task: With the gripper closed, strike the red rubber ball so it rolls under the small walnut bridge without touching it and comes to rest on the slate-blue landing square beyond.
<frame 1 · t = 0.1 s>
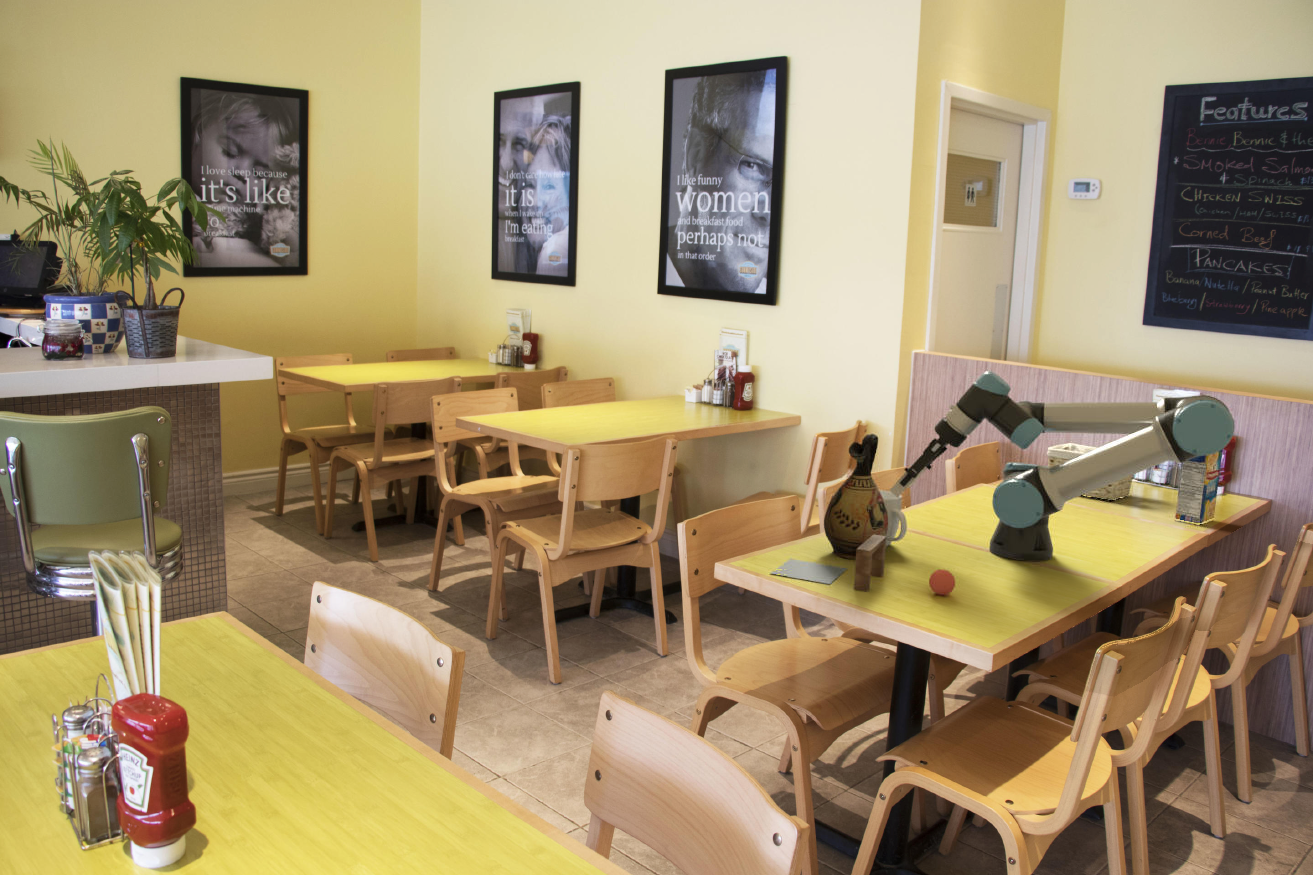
hand: (899, 488, 259), 15 cm above the table, tool tilted 35°, fingers open, 13 cm apart
ball: (942, 582, 224), on the table
bridge: (868, 581, 231), on the table
blue cardboard box: (1193, 521, 304), on the table
ceramic jug: (854, 554, 254), on the table
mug: (878, 545, 263), on the table
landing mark: (809, 571, 237), on the table
storage basket: (1087, 494, 337), on the table
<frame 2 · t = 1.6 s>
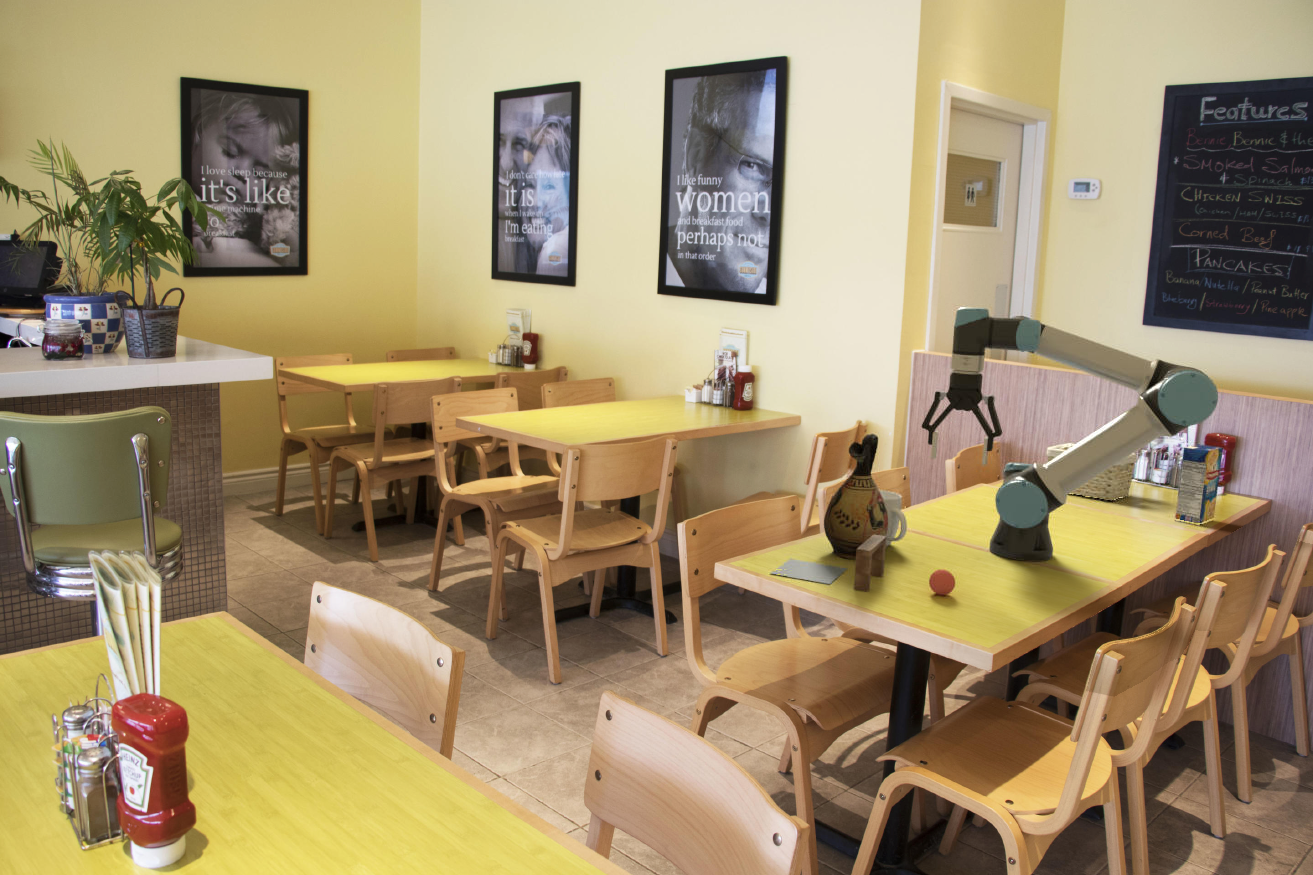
hand: (958, 461, 251), 24 cm above the table, tool pointing down, fingers open, 11 cm apart
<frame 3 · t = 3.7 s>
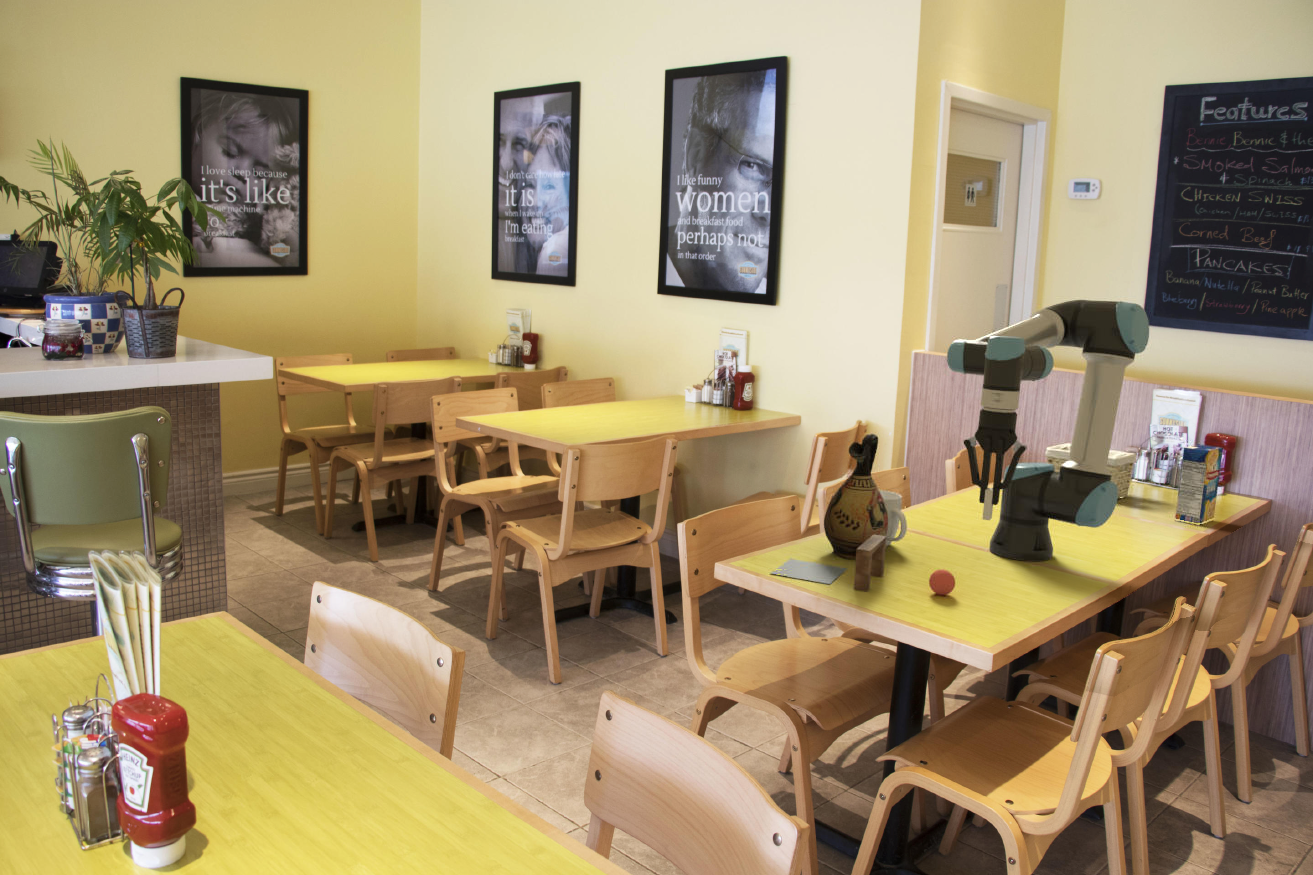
hand: (987, 518, 220), 18 cm above the table, tool pointing down, fingers closed
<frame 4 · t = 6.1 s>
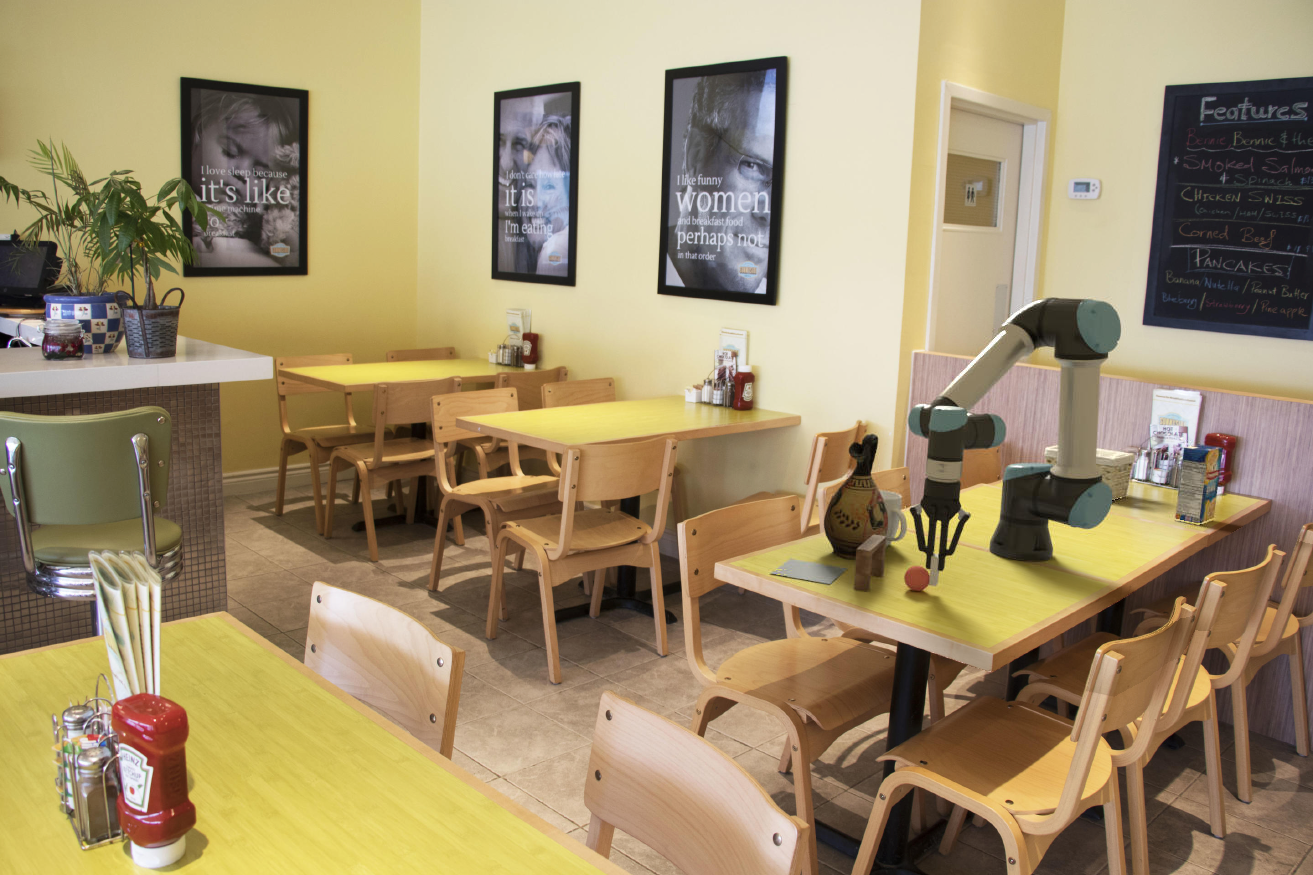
hand: (933, 583, 225), 2 cm above the table, tool pointing down, fingers closed
ball: (917, 578, 226), on the table
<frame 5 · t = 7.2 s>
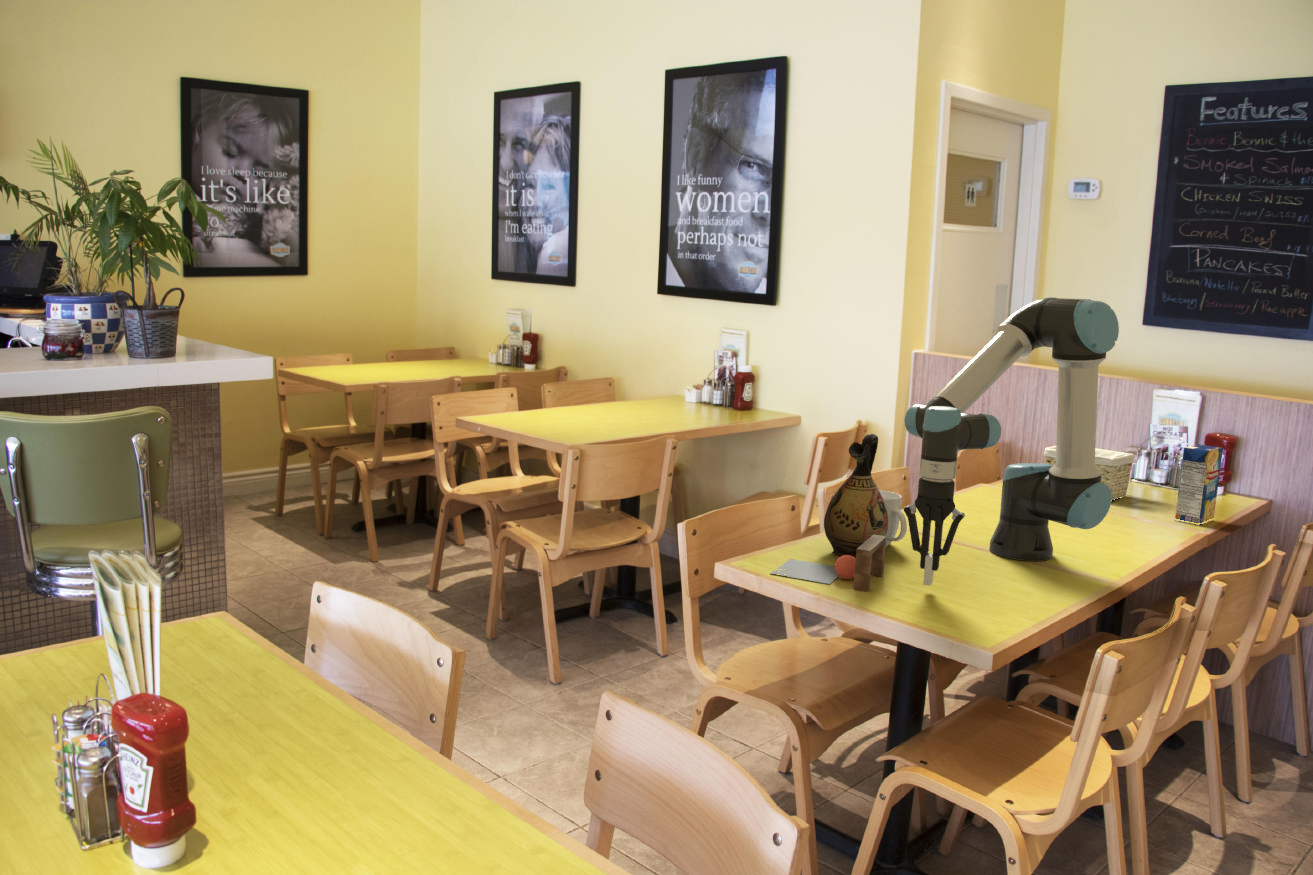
hand: (927, 583, 226), 2 cm above the table, tool pointing down, fingers closed
ball: (847, 567, 233), on the table
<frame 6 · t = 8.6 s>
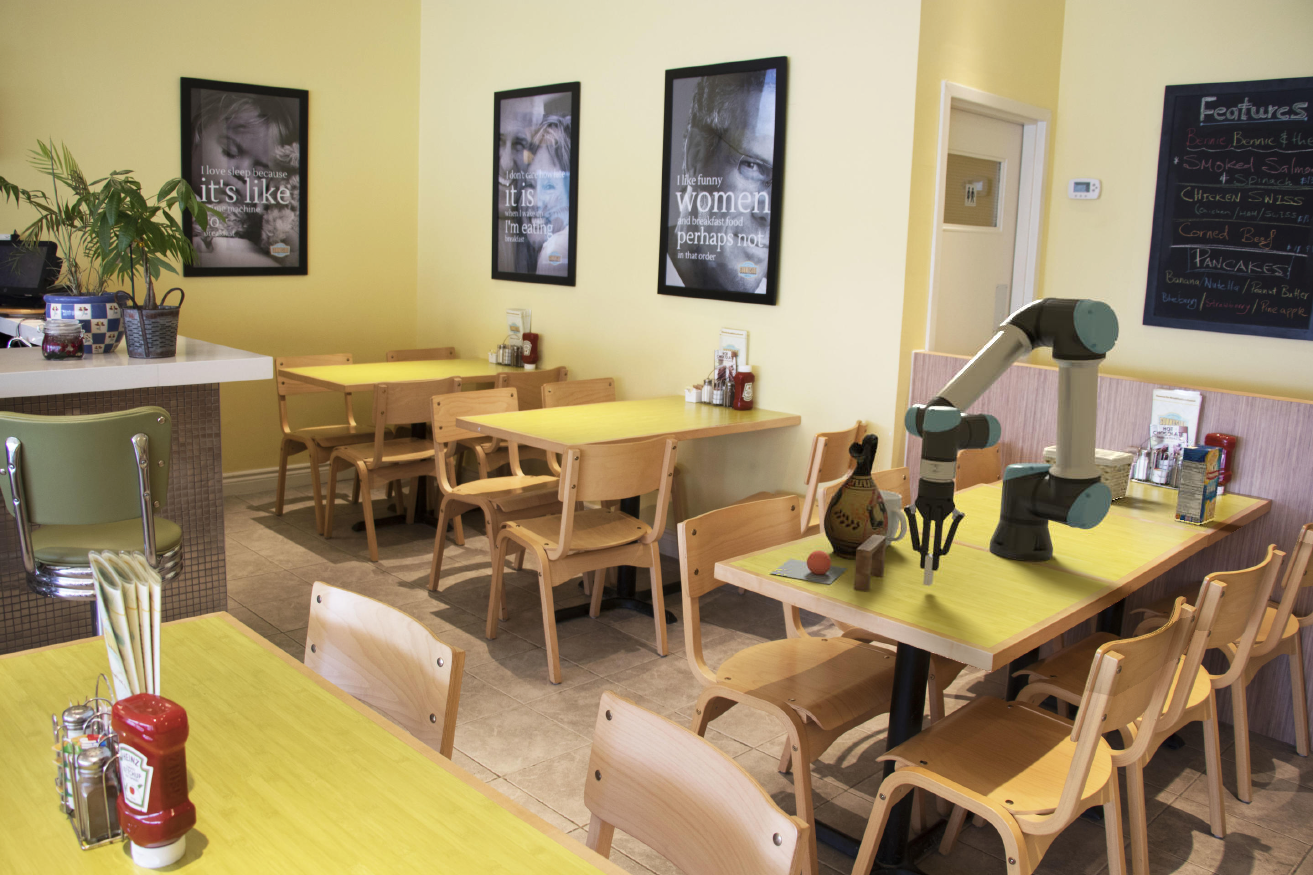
hand: (927, 583, 226), 2 cm above the table, tool pointing down, fingers closed
ball: (818, 562, 235), on the table
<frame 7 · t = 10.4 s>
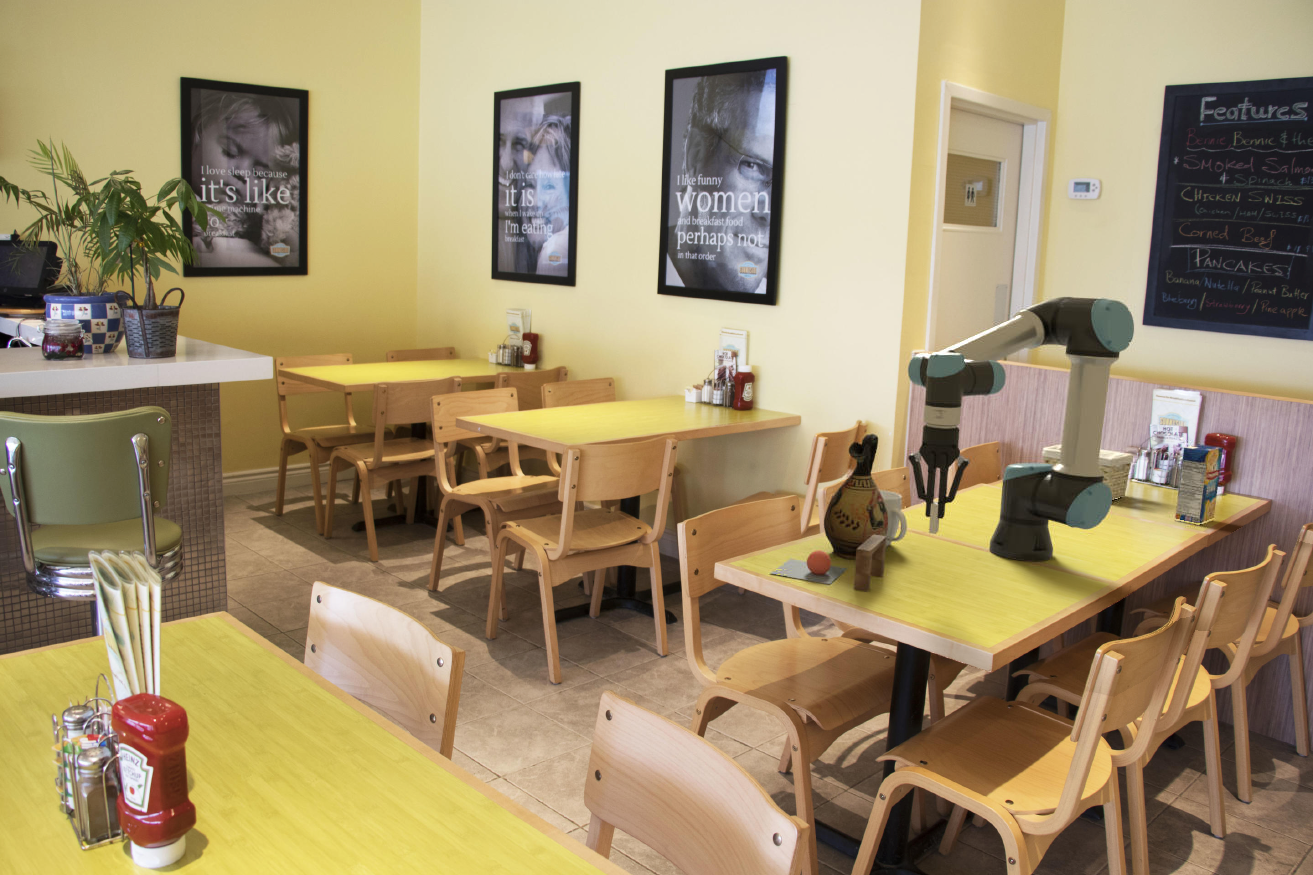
hand: (933, 531, 224), 14 cm above the table, tool pointing down, fingers closed
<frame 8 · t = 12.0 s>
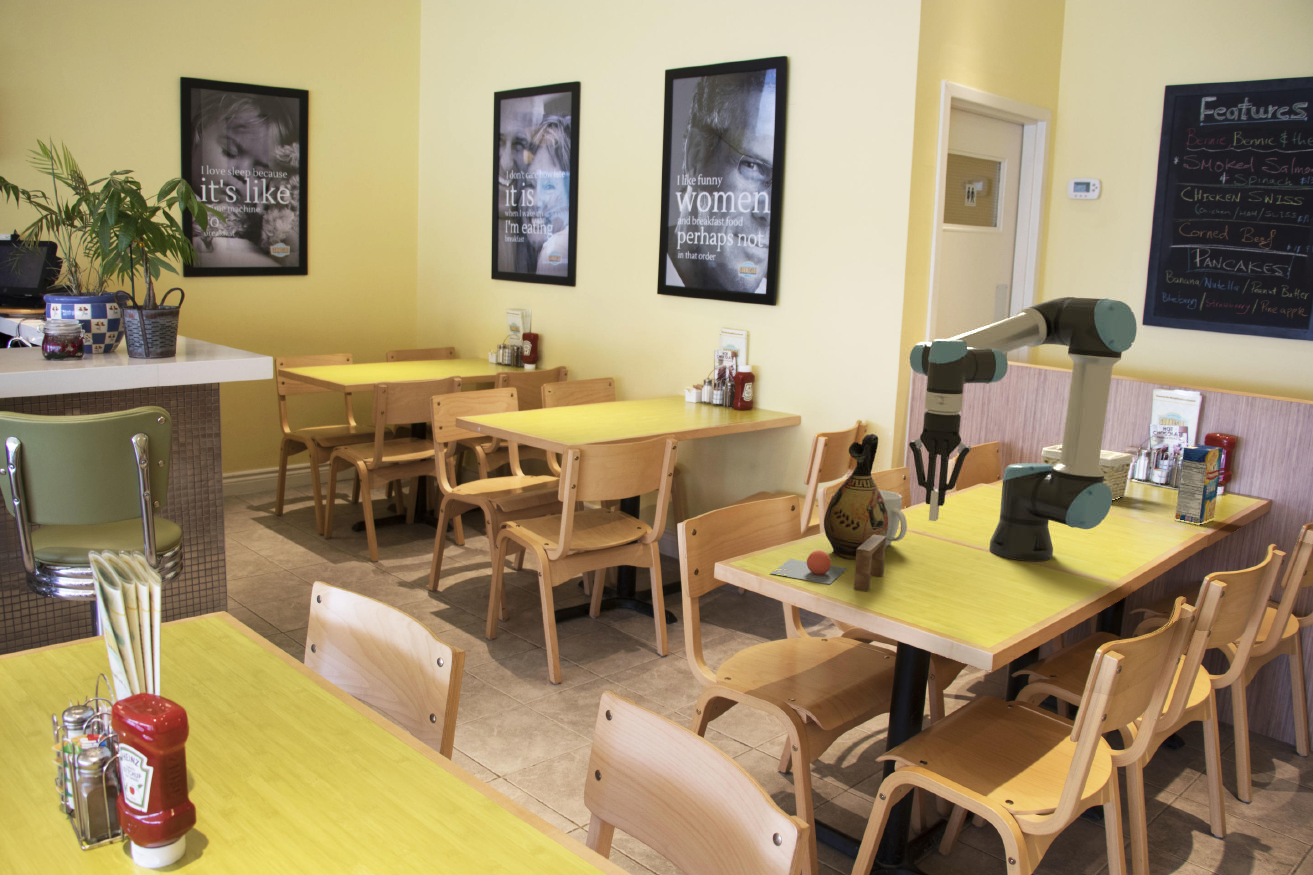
hand: (933, 519, 223), 16 cm above the table, tool pointing down, fingers closed
at the end: ball 2.5 cm from the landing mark (horizontally); ball never touched bridge; ball at rest at the end (0.0 cm/s) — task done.
